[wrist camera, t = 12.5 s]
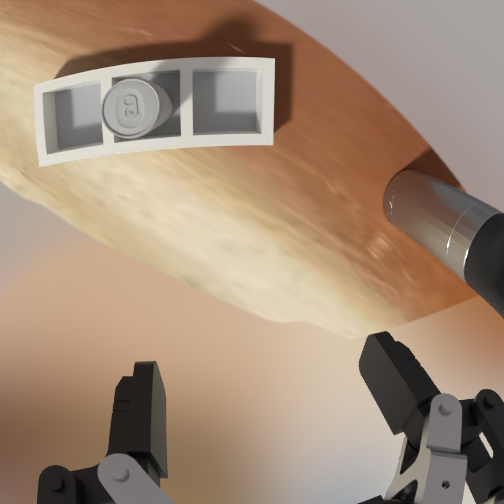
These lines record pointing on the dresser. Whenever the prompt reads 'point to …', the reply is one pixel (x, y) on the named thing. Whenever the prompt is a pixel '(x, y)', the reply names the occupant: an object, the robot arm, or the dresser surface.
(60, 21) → the dresser surface
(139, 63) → the can caddy
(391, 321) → the dresser surface
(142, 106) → the beverage can
